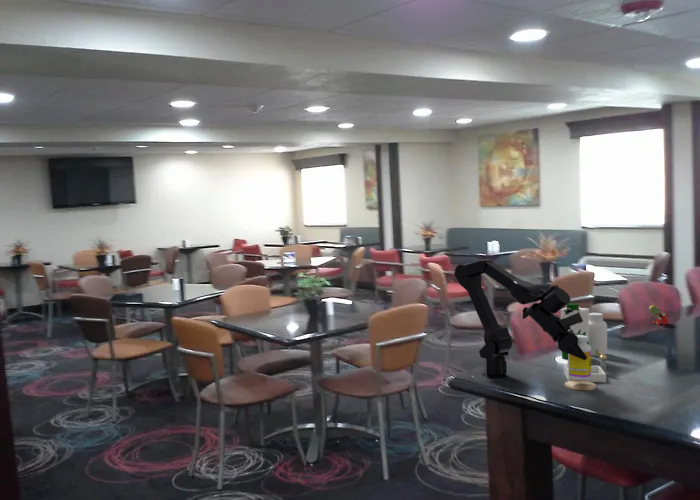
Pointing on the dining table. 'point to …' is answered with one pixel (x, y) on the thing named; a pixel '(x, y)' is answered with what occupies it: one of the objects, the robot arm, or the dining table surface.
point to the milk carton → (579, 327)
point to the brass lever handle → (600, 354)
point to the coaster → (580, 385)
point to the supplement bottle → (580, 361)
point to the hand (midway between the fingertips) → (584, 356)
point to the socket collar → (592, 373)
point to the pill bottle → (597, 333)
